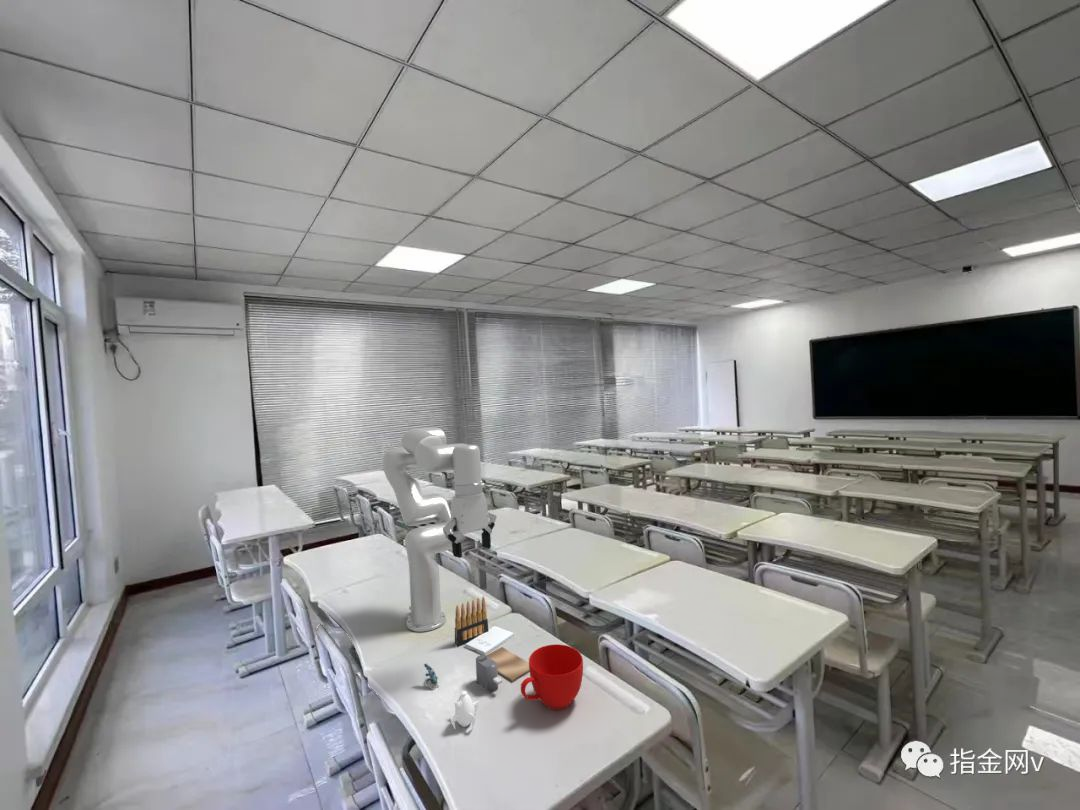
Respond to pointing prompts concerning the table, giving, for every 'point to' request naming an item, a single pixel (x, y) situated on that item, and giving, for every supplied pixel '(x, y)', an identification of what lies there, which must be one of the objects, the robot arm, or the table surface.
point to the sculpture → (431, 677)
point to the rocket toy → (464, 711)
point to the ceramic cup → (554, 675)
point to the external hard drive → (489, 640)
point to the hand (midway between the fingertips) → (472, 552)
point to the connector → (487, 673)
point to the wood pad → (509, 664)
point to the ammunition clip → (470, 622)
